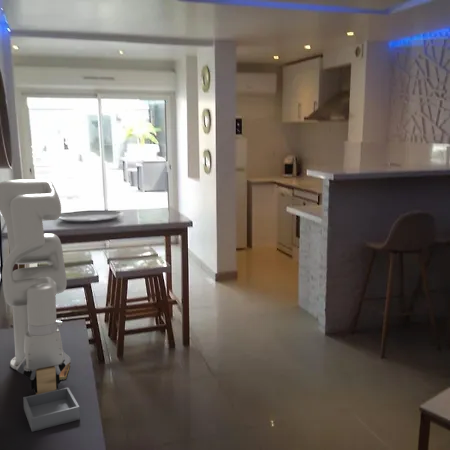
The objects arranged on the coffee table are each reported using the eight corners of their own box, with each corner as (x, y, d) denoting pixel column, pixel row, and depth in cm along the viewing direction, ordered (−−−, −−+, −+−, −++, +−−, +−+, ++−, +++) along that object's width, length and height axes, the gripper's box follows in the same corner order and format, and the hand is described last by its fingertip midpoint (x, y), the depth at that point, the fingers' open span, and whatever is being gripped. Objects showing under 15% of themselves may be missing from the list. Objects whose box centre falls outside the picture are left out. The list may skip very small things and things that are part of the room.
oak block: (34, 391, 144) (33, 364, 143) (52, 387, 147) (51, 361, 146) (38, 398, 140) (36, 371, 139) (56, 394, 143) (55, 367, 141)
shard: (70, 366, 162) (70, 361, 162) (84, 373, 157) (84, 368, 157) (39, 377, 154) (39, 372, 153) (53, 385, 149) (53, 379, 148)
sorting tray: (23, 409, 134) (23, 397, 134) (68, 398, 140) (68, 387, 139) (31, 431, 124) (31, 418, 123) (80, 419, 130) (79, 406, 129)
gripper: (70, 319, 148) (72, 376, 151) (8, 328, 139) (11, 390, 142) (76, 326, 142) (78, 387, 144) (11, 337, 133) (15, 401, 136)
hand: (45, 387), depth 143 cm, fingers closed on oak block, 5 cm apart
